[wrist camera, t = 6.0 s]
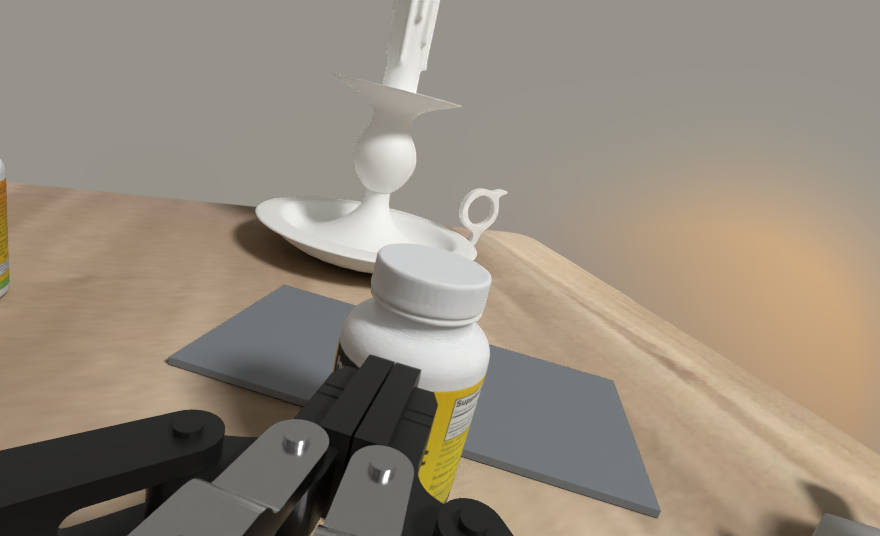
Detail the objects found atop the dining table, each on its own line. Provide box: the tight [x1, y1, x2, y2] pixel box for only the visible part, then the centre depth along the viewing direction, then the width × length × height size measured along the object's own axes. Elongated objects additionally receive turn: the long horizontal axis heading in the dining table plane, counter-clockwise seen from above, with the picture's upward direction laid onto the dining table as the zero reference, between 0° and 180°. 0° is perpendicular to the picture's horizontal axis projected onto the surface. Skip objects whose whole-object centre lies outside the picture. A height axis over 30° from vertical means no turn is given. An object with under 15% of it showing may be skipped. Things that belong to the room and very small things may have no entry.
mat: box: [168, 285, 661, 518], centre depth 28 cm, size 12×24×1 cm, turn 80°
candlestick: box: [255, 0, 507, 274], centre depth 44 cm, size 21×25×28 cm
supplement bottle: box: [333, 243, 491, 504], centre depth 18 cm, size 5×5×10 cm
